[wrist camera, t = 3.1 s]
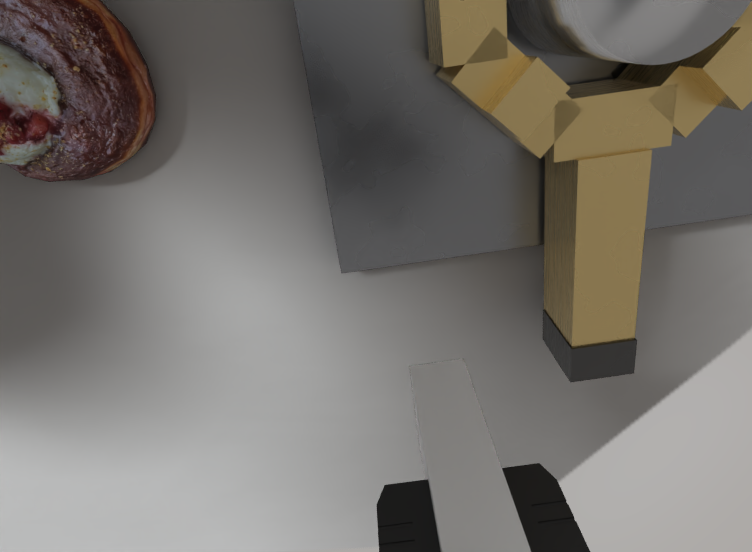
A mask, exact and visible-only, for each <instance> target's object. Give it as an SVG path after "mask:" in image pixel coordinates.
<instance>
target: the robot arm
mask: <svg viewBox="0 0 752 552" xmlns="http://www.w3.org/2000/svg"><path fill="white" fill-rule="evenodd" d="M409 368H410V376H411V384H412V392H413V399H414V407H415V415H416V423H417V431H418V439H419V446H420V452H421V458H422V464H423V470H424V476H425V480H420V481H412V482H405V483H397V484H390V485H385V486H384V488H383V491H382V493H381V496H380V498H379V500H378V503H377V519H378V537H379V552H590V551H589V548H588V547H587V544H586V542H585V540H584V538H583V536H582V533H581V531H580V529H579V527H578V525H577V523H576V521H575V520H574V516H573V514H572V512H571V510H570V508H569V505H568V504H567V503H566V499H565V497H564V495H563V492H562V490H561V488H560V486H559V484H558V482H557V480H556V479H555V478H554V477H553V476H552V475H551V474H550V473H549V472H548V471H547V470H546V469H545V468H544V467H543V466H542V465H541V464H539V463H537V464H530V465H522V466H515V467H507V468H502V467H501V464H500V461H499V459H498V456H497V453H496V450H495V447H494V444H493V441H492V439H491V436H490V433H489V430H488V427H487V424H486V421H485V419H484V416H483V413H482V410H481V407H480V404H479V401H478V399H477V396H476V393H475V390H474V387H473V384H472V381H471V379H470V376H469V373H468V370H467V367H466V364H465V361H464V359H457V360H449V361H442V362H435V363H427V364H420V365H413V366H409Z"/></svg>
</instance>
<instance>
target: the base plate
mask: <svg viewBox="0 0 752 552" xmlns="http://www.w3.org/2000/svg"><path fill="white" fill-rule="evenodd" d="M293 1H294V7H295V13H296V18H297V24H298V30H299V35H300V41H301V47H302V52H303V58H304V64H305V69H306V75H307V81H308V86H309V92H310V98H311V103H312V109H313V115H314V120H315V126H316V132H317V137H318V143H319V149H320V154H321V160H322V166H323V171H324V177H325V183H326V188H327V194H328V200H329V205H330V211H331V217H332V222H333V228H334V234H335V239H336V245H337V251H338V256H339V262H340V268H341V273H347V272H354V271H361V270H368V269H375V268H382V267H389V266H396V265H403V264H410V263H417V262H424V261H431V260H438V259H445V258H452V257H459V256H466V255H473V254H479V253H486V252H493V251H500V250H507V249H514V248H521V247H528V246H535V245H542V244H544V228H545V157H544V156H542V157H541V158H538V157H537V156H535V155H534V154H532V153H530V152H529V151H527V150H526V149H524V148H523V147H521V146H520V145H518V144H517V143H515V142H514V141H513V140H511V139H510V138H509V137H508V136H507V135H506V134H504V133H503V132H502V131H501V130H500V129H498V128H497V127H496V126H495V125H494V124H493V123H491V122H490V121H489V120H488V119H487V118H486V117H484V116H483V115H482V114H481V113H480V112H479V111H477V110H476V109H475V108H474V107H473V106H472V105H470V104H469V103H468V102H467V101H466V100H464V99H463V98H462V97H461V96H460V95H459V94H457V93H456V92H455V91H454V90H453V89H452V88H450V87H449V86H448V85H447V84H446V83H445V82H443V81H442V80H441V79H440V78H439V77H438V76H436V74H437V73H438V72H439V70H440V69H441V68H442V67H441V66H438V65H436V64H433V63H430V62H429V51H428V38H427V26H426V14H425V1H424V0H293ZM751 1H752V0H506V8H507V39H508V40H509V41H510V42H511V43H512V44H513V45H514V46H515V47H517V48H518V49H519V50H520V51H521V52H522V53H523V54H524V55H528V56H536V57H538V58H539V59H540V60H541V61H543V62H544V63H545V64H546V65H547V66H548V67H549V68H550V69H551V70H552V71H553V72H554V73H555V74H556V75H557V76H559V77H560V78H561V79H562V80H563V81H564V82H565V83H566V84H567V85H574V84H581V83H588V82H595V81H602V80H609V79H615V78H618V77H619V75H620V74H621V73H622V72H623V71H624V70H625V69H626V67H627V66H628V65H629V64H630V63H634V64H645V65H659V64H667V63H672V62H676V61H679V60H682V59H685V58H688V57H690V56H692V55H694V54H696V53H698V52H700V51H702V50H703V49H705V48H706V47H708V46H709V45H711V44H712V43H714V42H715V41H716V40H717V39H719V38H720V37H721V36H722V35H724V34H725V33H726V32H727V31H728V30H729V29H730V28H731V27H732V26H733V25H734V24H735V22H736V21H737V20H738V19H739V18H740V17H741V15H742V14H743V13H744V11H745V10H746V9H747V7H748V6H749V4H750V3H751ZM651 150H652V158H651V169H650V179H649V190H648V201H647V211H646V222H645V230H647V229H654V228H661V227H668V226H674V225H681V224H688V223H695V222H702V221H709V220H716V219H723V218H730V217H737V216H744V215H751V214H752V101H751V102H750V103H749V104H748V105H747V106H746V107H745V108H744V109H743V110H742V111H741V110H736V109H731V108H726V107H721V106H716V107H715V108H714V109H713V110H712V111H711V112H710V113H709V114H708V115H707V116H706V117H705V118H704V119H703V120H702V121H701V122H700V123H699V125H698V126H697V127H696V128H695V129H694V130H693V131H692V132H691V133H690V134H689V135H688V136H687V137H686V138H685V137H682V136H678V135H675V134H672V142H671V146H665V147H658V148H652V149H651Z"/></svg>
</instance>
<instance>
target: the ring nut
mask: <svg viewBox="0 0 752 552" xmlns="http://www.w3.org/2000/svg"><path fill="white" fill-rule="evenodd" d="M424 1H425V14H426V26H427V38H428V51H429V62H430V63H433V64H436V65H438V66H441V67H442V68H441V69H440V70H439V72H438V73H437V74H436V76H438V77H439V78H440V79H441V80H442V81H443V82H445V83H446V84H447V85H448V86H449V87H450V88H452V89H453V90H454V91H455V92H456V93H457V94H459V95H460V96H461V97H462V98H463V99H464V100H466V101H467V102H468V103H469V104H470V105H472V106H473V107H474V108H475V109H476V110H477V111H479V112H480V113H481V114H482V115H483V116H484V117H486V118H487V119H488V120H489V121H490V122H491V123H493V124H494V125H495V126H496V127H497V128H498V129H500V130H501V131H502V132H503V133H504V134H506V135H507V136H508V137H509V138H510V139H511V140H513V141H514V142H515V143H517V144H518V145H520V146H521V147H523V148H524V149H526V150H527V151H529V152H530V153H532V154H534V155H535V156H537V157H538V158H541V157H542V156H544V157H545V228H544V309H543V340H544V342H545V344H546V345H547V347H548V348H549V350H550V351H551V353H552V354H553V356H554V358H555V359H556V361H557V362H558V364H559V365H560V367H561V368H562V370H563V371H564V373H565V375H566V376H567V378H568V379H569V381H570V382H576V381H583V380H590V379H597V378H604V377H611V376H618V375H625V374H632V373H634V366H635V356H636V345H637V340H636V339H635V328H636V317H637V307H638V296H639V285H640V275H641V264H642V254H643V243H644V232H645V222H646V211H647V201H648V190H649V179H650V169H651V158H652V150H651V149H652V148H658V147H665V146H671V142H672V134H675V135H678V136H682V137H685V138H686V137H687V136H688V135H689V134H690V133H691V132H692V131H693V130H694V129H695V128H696V127H697V126H698V125H699V123H700V122H701V121H702V120H703V119H704V118H705V117H706V116H707V115H708V114H709V113H710V112H711V111H712V110H713V109H714V108H715V107H716V106H721V107H726V108H731V109H736V110H741V111H742V110H743V109H744V108H745V107H746V106H747V105H748V104H749V103H750V102H751V101H752V1H751V3H750V4H749V6H748V7H747V9H746V10H745V11H744V13H743V14H742V15H741V17H740V18H739V19H738V20H737V21H736V22H735V24H734V25H733V26H732V27H731V28H730V29H729V30H728V31H727V32H726V33H725V34H724V35H722V36H721V37H720V38H719V39H717V40H716V41H715V42H714V43H712V44H711V45H709V46H708V47H706V48H705V49H703V50H702V51H700V52H698V53H696V54H694V55H692V56H690V57H688V58H685V59H682V60H679V61H676V62H672V63H667V64H659V65H645V64H634V63H630V64H629V65H628V66H627V67H626V69H625V70H624V71H623V72H622V73H621V74H620V75H619V77H618V78H615V79H609V80H602V81H595V82H588V83H581V84H574V85H567V84H566V83H565V82H564V81H563V80H562V79H561V78H560V77H559V76H557V75H556V74H555V73H554V72H553V71H552V70H551V69H550V68H549V67H548V66H547V65H546V64H545V63H544V62H543V61H541V60H540V59H539V58H538V57H536V56H528V55H524V54H523V53H522V52H521V51H520V50H519V49H518V48H517V47H515V46H514V45H513V44H512V43H511V42H510V41H509V40H508V39H507V8H506V0H424Z"/></svg>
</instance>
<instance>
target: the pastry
mask: <svg viewBox="0 0 752 552" xmlns="http://www.w3.org/2000/svg"><path fill="white" fill-rule="evenodd" d="M155 108H156V94H155V91H154V88H153V84H152V81H151V77H150V74H149V70H148V67H147V64H146V62H145V60H144V58H143V56H142V54H141V52H140V51H139V49H138V47H137V45H136V43H135V41H134V39H133V37H132V36H131V34H130V32H129V31H128V29H127V28H126V27H125V26H124V25H123V24H122V23H121V22H120V21H119V20H118V19H117V18H116V16H115V15H114V14H113V13H112V12H111V11H110V10H109V9H108V8H107V7H106V6H105V5H104V3H103V2H102V1H101V0H0V163H4V164H7V165H8V166H10V167H11V168H13V169H15V170H16V171H18V172H19V173H21V174H23V175H24V176H27V177H31V178H35V179H39V180H44V181H48V182H53V181H69V180H84V179H87V178H91V177H94V176H97V175H101V174H104V173H107V172H111V171H112V170H114V169H115V168H117V167H118V166H120V165H121V164H123V163H124V162H125V161H127V160H128V159H130V158H131V157H132V156H133V155H134V154H135V153H136V152H137V151H139V150H140V149H141V148H142V147H143V146H144V145H145V144H146V143H147V140H148V138H149V135H150V132H151V130H152V127H153V124H154V122H155Z"/></svg>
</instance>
